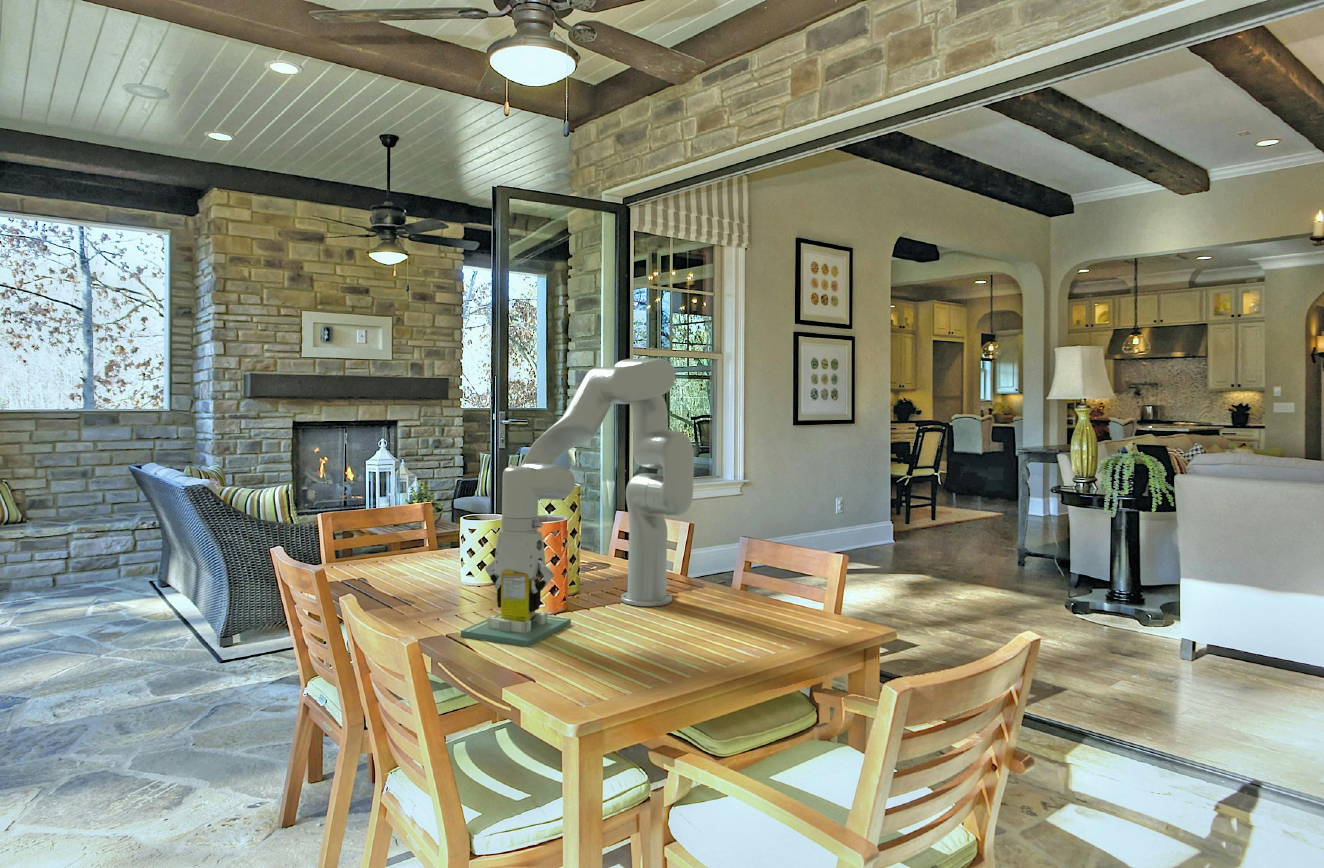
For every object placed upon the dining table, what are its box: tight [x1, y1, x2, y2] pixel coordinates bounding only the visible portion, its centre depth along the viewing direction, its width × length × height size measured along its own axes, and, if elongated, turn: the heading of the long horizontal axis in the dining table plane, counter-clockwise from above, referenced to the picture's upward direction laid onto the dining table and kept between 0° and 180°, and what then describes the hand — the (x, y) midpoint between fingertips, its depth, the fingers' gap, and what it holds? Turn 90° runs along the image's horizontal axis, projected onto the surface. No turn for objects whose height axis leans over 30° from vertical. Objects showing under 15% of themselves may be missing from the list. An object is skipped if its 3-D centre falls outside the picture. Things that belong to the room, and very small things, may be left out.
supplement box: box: [500, 571, 536, 622], centre depth 170 cm, size 6×6×11 cm
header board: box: [460, 610, 572, 648], centre depth 170 cm, size 18×16×3 cm
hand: (518, 607), depth 170 cm, fingers closed on supplement box, 7 cm apart
